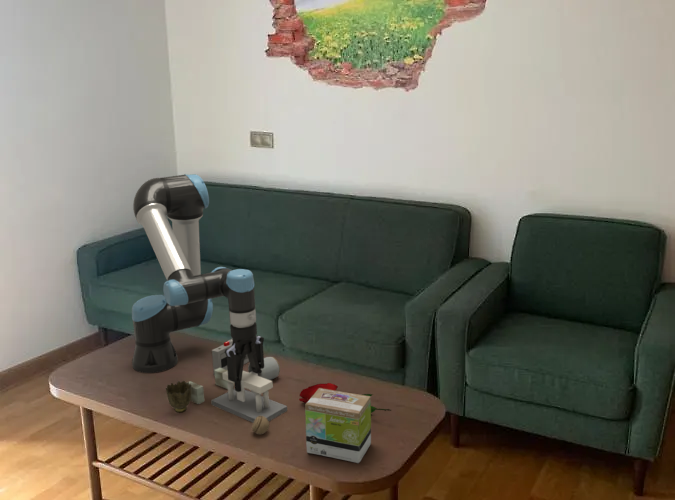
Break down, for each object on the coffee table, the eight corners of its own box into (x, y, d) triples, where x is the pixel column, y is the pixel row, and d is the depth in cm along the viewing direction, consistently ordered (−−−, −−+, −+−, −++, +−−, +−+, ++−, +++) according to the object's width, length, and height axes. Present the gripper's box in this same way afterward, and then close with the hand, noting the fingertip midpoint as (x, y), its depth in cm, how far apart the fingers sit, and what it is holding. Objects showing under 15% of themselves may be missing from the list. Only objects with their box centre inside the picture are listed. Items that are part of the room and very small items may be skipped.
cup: (171, 419, 202) (169, 394, 200) (165, 408, 208) (162, 384, 206) (196, 413, 205) (194, 388, 203) (189, 402, 211) (187, 378, 209)
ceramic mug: (282, 379, 225) (281, 357, 223) (262, 387, 220) (260, 365, 218) (262, 370, 233) (260, 348, 231) (242, 378, 227) (240, 356, 225)
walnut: (260, 426, 197) (259, 410, 195) (273, 432, 194) (272, 416, 192) (247, 433, 193) (246, 417, 192) (260, 439, 190) (259, 423, 189)
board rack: (185, 398, 214) (184, 383, 213) (221, 381, 225) (220, 367, 223) (198, 404, 210) (196, 389, 209) (233, 386, 221) (232, 372, 220)
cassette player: (219, 377, 228) (217, 349, 226) (213, 375, 230) (211, 347, 227) (251, 360, 240) (250, 333, 238) (246, 358, 242) (244, 331, 239)
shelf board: (272, 387, 202) (272, 381, 202) (260, 394, 198) (260, 387, 198) (235, 373, 212) (234, 367, 212) (222, 379, 208) (222, 373, 208)
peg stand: (211, 404, 210) (209, 383, 208) (238, 391, 218) (237, 370, 216) (260, 426, 197) (259, 403, 195) (287, 410, 205) (286, 389, 203)
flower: (393, 383, 195) (300, 373, 209) (383, 411, 189) (288, 399, 203) (401, 403, 201) (310, 392, 214) (391, 431, 194) (298, 417, 208)
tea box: (305, 454, 182) (303, 403, 178) (320, 435, 191) (318, 386, 187) (360, 464, 177) (358, 412, 173) (372, 444, 186) (371, 394, 182)
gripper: (228, 335, 191) (234, 412, 197) (274, 316, 205) (278, 388, 211) (210, 329, 196) (216, 404, 202) (256, 311, 209) (261, 382, 215)
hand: (248, 396), depth 206 cm, fingers closed on shelf board, 5 cm apart
